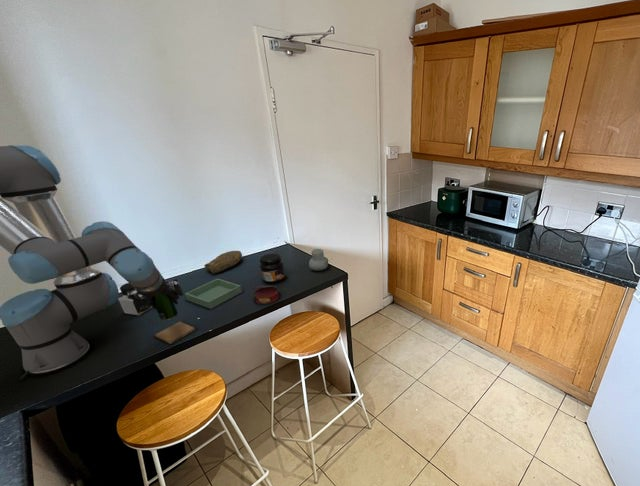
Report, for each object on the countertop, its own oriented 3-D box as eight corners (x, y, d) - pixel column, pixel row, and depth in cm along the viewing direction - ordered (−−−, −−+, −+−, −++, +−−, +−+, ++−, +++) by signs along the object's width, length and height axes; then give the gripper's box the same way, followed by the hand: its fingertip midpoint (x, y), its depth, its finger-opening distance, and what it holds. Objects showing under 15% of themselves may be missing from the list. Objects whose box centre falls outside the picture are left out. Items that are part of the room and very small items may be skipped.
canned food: (256, 309, 137) (243, 291, 135) (274, 297, 145) (262, 279, 142) (269, 306, 130) (255, 286, 128) (287, 293, 138) (274, 274, 135)
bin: (210, 309, 130) (208, 302, 128) (187, 300, 136) (184, 293, 134) (242, 291, 142) (240, 285, 141) (219, 284, 148) (217, 278, 147)
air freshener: (325, 273, 159) (322, 255, 154) (308, 273, 159) (306, 255, 154) (329, 264, 169) (327, 246, 164) (314, 263, 169) (312, 246, 164)
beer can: (172, 321, 110) (160, 291, 104) (156, 321, 109) (144, 291, 104) (181, 312, 114) (171, 283, 109) (166, 312, 114) (155, 284, 109)
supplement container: (267, 286, 146) (262, 263, 141) (260, 278, 153) (255, 256, 148) (289, 280, 152) (285, 257, 147) (281, 272, 159) (277, 250, 154)
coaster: (170, 344, 110) (169, 341, 109) (155, 336, 113) (154, 334, 113) (195, 329, 117) (194, 327, 117) (180, 323, 121) (179, 321, 120)
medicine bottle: (138, 315, 125) (127, 289, 120) (124, 313, 126) (112, 287, 121) (154, 306, 131) (144, 281, 126) (140, 304, 133) (130, 279, 127)
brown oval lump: (217, 278, 156) (251, 257, 169) (209, 265, 152) (244, 245, 165) (206, 275, 164) (239, 255, 177) (198, 263, 160) (232, 243, 173)
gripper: (110, 302, 88) (136, 321, 108) (187, 284, 97) (197, 304, 117) (105, 278, 90) (131, 301, 109) (181, 262, 99) (192, 286, 118)
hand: (166, 303), depth 113 cm, fingers closed on beer can, 5 cm apart
